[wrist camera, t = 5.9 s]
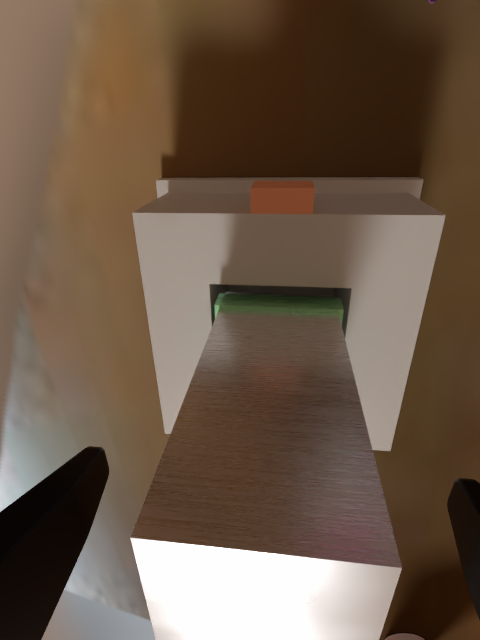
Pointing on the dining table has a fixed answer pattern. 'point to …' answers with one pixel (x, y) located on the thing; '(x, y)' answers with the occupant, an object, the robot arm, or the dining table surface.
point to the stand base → (291, 270)
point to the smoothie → (404, 637)
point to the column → (269, 487)
